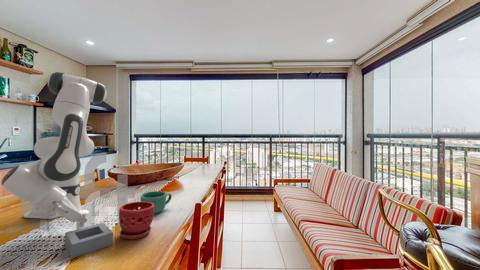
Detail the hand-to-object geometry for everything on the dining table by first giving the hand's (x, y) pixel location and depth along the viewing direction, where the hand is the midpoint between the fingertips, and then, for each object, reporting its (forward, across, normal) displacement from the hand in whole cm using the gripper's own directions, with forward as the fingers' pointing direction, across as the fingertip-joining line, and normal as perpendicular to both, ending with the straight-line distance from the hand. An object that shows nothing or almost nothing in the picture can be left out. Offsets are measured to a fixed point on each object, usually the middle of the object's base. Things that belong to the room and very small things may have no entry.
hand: (82, 217), depth 85 cm
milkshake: (+4, 0, +5) cm, 6 cm away
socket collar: (+4, -14, +5) cm, 15 cm away
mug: (+28, +2, -19) cm, 34 cm away
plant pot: (+15, -17, -6) cm, 23 cm away
